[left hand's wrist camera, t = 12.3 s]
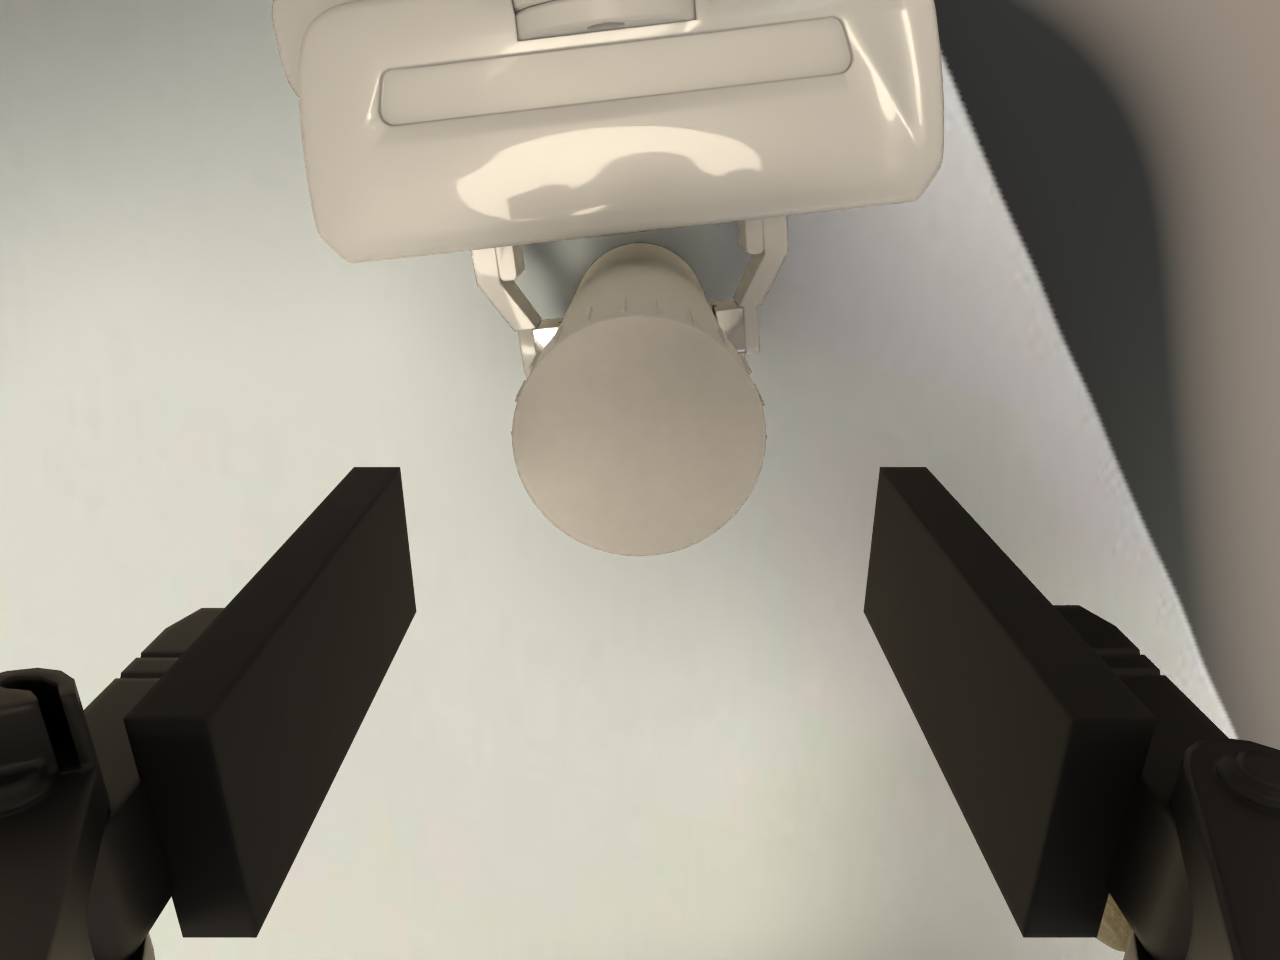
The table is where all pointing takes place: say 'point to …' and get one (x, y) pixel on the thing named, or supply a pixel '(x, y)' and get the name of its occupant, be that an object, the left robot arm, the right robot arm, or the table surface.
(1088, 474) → the table surface
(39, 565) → the table surface
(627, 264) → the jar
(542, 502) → the lid
